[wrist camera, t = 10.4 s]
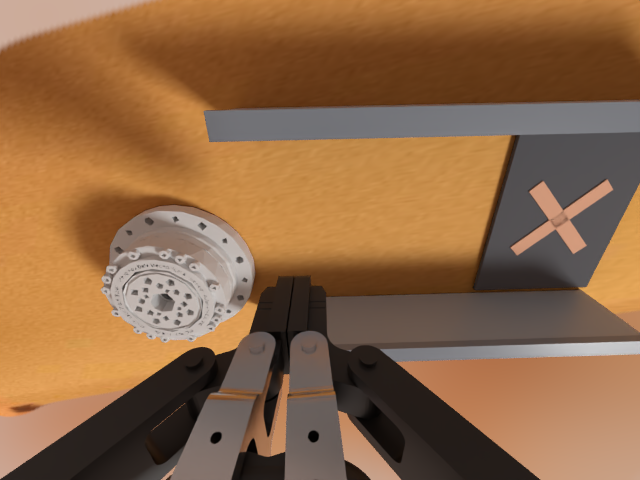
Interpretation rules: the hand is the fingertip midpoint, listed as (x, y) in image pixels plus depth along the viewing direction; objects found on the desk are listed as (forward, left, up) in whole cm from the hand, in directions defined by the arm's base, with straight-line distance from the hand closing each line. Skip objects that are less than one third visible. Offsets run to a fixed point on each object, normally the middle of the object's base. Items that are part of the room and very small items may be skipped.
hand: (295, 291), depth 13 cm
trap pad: (-18, 0, -7) cm, 19 cm away
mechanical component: (+9, +3, -8) cm, 12 cm away
